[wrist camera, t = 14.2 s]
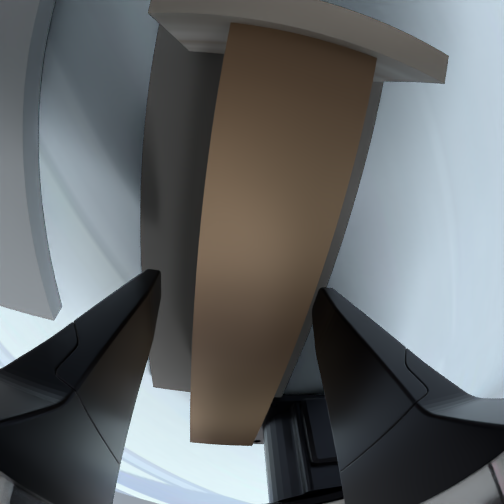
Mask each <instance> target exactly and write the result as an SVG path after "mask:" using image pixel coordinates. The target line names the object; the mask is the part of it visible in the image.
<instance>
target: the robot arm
mask: <svg viewBox="0 0 504 504" xmlns="http://www.w3.org/2000/svg"><path fill="white" fill-rule="evenodd" d="M160 301H161V272H160V270H155V269H146V270H145V271H143V272H142V273H141V274H139V275H138V276H136V277H135V278H133V279H132V280H130V281H129V282H128V283H126V284H125V285H123V286H122V287H120V288H119V289H118V290H116V291H115V292H113V293H112V294H110V295H109V296H108V297H106V298H105V299H103V300H102V301H101V302H99V303H98V304H96V305H95V306H94V307H92V308H91V309H90V310H88V311H87V312H85V313H84V314H83V315H81V316H80V317H79V318H77V319H76V320H75V321H74V323H73V322H72V323H70V324H69V325H68V326H66V327H65V328H64V329H62V330H61V331H59V332H58V333H57V334H55V335H54V336H52V337H51V338H49V339H48V340H46V341H45V342H43V343H42V344H40V345H39V346H37V347H35V348H34V349H32V350H31V351H29V352H27V353H26V354H24V355H22V356H21V357H19V358H18V359H16V360H14V361H13V362H11V363H10V364H8V365H6V366H5V367H3V368H1V369H0V504H113V498H114V493H115V488H116V483H117V478H118V473H119V468H120V463H121V459H122V454H123V450H124V446H125V441H126V437H127V433H128V429H129V425H130V421H131V417H132V413H133V410H134V406H135V402H136V398H137V395H138V391H139V387H140V384H141V380H142V377H143V373H144V370H145V367H146V363H147V360H148V356H149V353H150V350H151V346H152V343H153V338H154V334H155V328H156V322H157V317H158V312H159V306H160ZM312 322H313V331H314V341H315V350H316V356H317V361H318V366H319V370H320V375H321V380H322V384H323V389H324V394H323V395H282V397H274V398H273V401H272V403H271V405H270V407H269V410H268V412H267V414H266V416H265V419H264V421H263V423H262V425H261V427H260V430H259V432H258V434H257V436H256V438H255V440H254V442H253V444H264V451H265V462H266V472H267V483H268V494H269V503H268V504H504V398H503V399H489V398H478V397H475V396H472V395H470V394H468V393H466V392H465V391H463V390H462V389H460V388H459V387H458V386H456V385H455V384H453V383H452V382H451V381H449V380H448V379H446V378H445V377H444V376H442V375H441V374H439V373H438V372H437V371H435V370H434V369H433V368H431V367H430V366H428V365H427V364H426V363H425V362H423V361H422V360H421V359H420V358H418V357H417V356H416V355H415V354H413V353H412V352H411V351H410V350H409V349H406V347H405V346H404V345H402V344H401V343H400V342H399V341H398V340H396V339H395V338H394V337H393V336H391V335H390V334H389V333H388V332H387V331H385V330H384V329H383V328H382V327H380V326H379V325H378V324H377V323H375V322H374V321H373V320H372V319H370V318H369V317H368V316H367V315H366V314H364V313H363V312H362V311H361V310H359V309H358V308H357V307H356V306H354V305H353V304H352V303H351V302H349V301H348V300H347V299H346V298H344V297H343V296H342V295H341V294H339V293H338V292H337V291H335V290H334V289H333V288H325V287H321V288H320V289H319V290H318V293H317V296H316V299H315V301H314V304H313V307H312Z"/></svg>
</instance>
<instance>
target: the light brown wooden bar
mask: <svg viewBox="0 0 504 504" xmlns="http://www.w3.org/2000/svg"><path fill="white" fill-rule="evenodd" d="M148 14H149V15H150V16H152V17H153V18H154V19H155V20H156V21H157V22H158V23H160V24H161V25H162V26H163V27H164V28H165V29H166V30H167V31H168V32H170V33H171V34H172V35H173V36H174V37H175V38H176V39H177V40H178V41H179V42H180V43H181V44H182V45H183V46H185V47H186V48H187V49H188V50H189V51H194V52H207V53H218V54H224V59H223V65H222V71H221V76H220V82H219V88H218V94H217V100H216V107H215V113H214V120H213V127H212V134H211V141H210V148H209V156H208V164H207V172H206V180H205V188H204V197H203V206H202V216H201V226H200V236H199V247H198V259H197V272H196V285H195V300H194V316H193V335H192V359H191V396H190V442H194V443H205V444H219V445H241V446H252V445H253V442H254V440H255V438H256V436H257V434H258V432H259V430H260V427H261V425H262V423H263V421H264V419H265V416H266V414H267V412H268V410H269V407H270V405H271V403H272V401H273V398H274V396H275V394H276V391H277V389H278V387H279V384H280V382H281V379H282V377H283V375H284V372H285V370H286V367H287V365H288V362H289V360H290V357H291V355H292V352H293V350H294V347H295V345H296V342H297V339H298V337H299V334H300V332H301V329H302V326H303V324H304V321H305V318H306V315H307V313H308V310H309V307H310V304H311V302H312V299H313V296H314V293H315V290H316V287H317V284H318V282H319V279H320V276H321V273H322V270H323V267H324V264H325V261H326V258H327V254H328V251H329V248H330V245H331V242H332V239H333V236H334V232H335V229H336V226H337V222H338V219H339V216H340V212H341V209H342V205H343V202H344V198H345V195H346V191H347V188H348V184H349V180H350V177H351V173H352V169H353V165H354V162H355V158H356V154H357V150H358V146H359V142H360V137H361V133H362V129H363V125H364V120H365V116H366V111H367V107H368V102H369V97H370V93H371V88H372V83H373V82H425V83H440V84H444V83H445V77H446V71H447V64H448V57H449V56H448V55H446V54H445V53H443V52H441V51H439V50H438V49H436V48H434V47H432V46H431V45H429V44H427V43H425V42H423V41H421V40H419V39H417V38H415V37H413V36H411V35H409V34H407V33H405V32H403V31H401V30H399V29H397V28H395V27H392V26H390V25H388V24H386V23H383V22H381V21H378V20H376V19H373V18H371V17H368V16H366V15H363V14H360V13H358V12H355V11H352V10H349V9H346V8H343V7H340V6H337V5H334V4H331V3H327V2H324V1H320V0H151V2H150V6H149V10H148Z"/></svg>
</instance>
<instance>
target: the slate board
mask: <svg viewBox="0 0 504 504" xmlns="http://www.w3.org/2000/svg"><path fill="white" fill-rule="evenodd" d="M55 1H56V0H0V306H3V307H6V308H9V309H13V310H16V311H20V312H23V313H27V314H30V315H34V316H38V317H42V318H46V319H50V320H55V318H56V316H57V314H58V313H59V311H60V310H61V308H62V305H61V301H60V297H59V293H58V289H57V285H56V281H55V277H54V273H53V268H52V263H51V258H50V253H49V248H48V242H47V236H46V230H45V223H44V216H43V208H42V199H41V189H40V175H39V154H38V120H39V99H40V86H41V76H42V68H43V60H44V53H45V47H46V41H47V36H48V31H49V26H50V21H51V17H52V13H53V9H54V5H55Z"/></svg>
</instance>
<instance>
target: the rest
mask: <svg viewBox="0 0 504 504" xmlns="http://www.w3.org/2000/svg"><path fill="white" fill-rule="evenodd" d="M223 59H224V54H218V53H207V52H194V51H189V50H188V49H187V48H186V47H185V46H183V45H182V44H181V43H180V42H179V41H178V40H177V39H176V38H175V37H174V36H173V35H172V34H171V33H170V32H168V31H167V30H166V29H165V28H164V27H163V26H162V25H161V24H159V28H158V34H157V39H156V44H155V50H154V56H153V62H152V68H151V75H150V82H149V90H148V98H147V107H146V116H145V127H144V139H143V154H142V173H141V266H142V272H143V271H145V270H146V269H155V270H160V272H161V301H160V306H159V312H158V317H157V322H156V328H155V334H154V338H153V343H152V346H151V350H150V353H149V359H150V367H151V374H152V381H153V387H156V388H163V389H170V390H178V391H186V392H191V359H192V335H193V316H194V300H195V285H196V272H197V259H198V247H199V236H200V226H201V216H202V206H203V197H204V188H205V180H206V172H207V164H208V156H209V148H210V141H211V134H212V127H213V120H214V113H215V107H216V100H217V94H218V88H219V82H220V76H221V71H222V65H223ZM382 87H383V82H373V83H372V88H371V93H370V97H369V102H368V107H367V111H366V116H365V120H364V125H363V129H362V133H361V137H360V142H359V146H358V150H357V154H356V158H355V162H354V165H353V169H352V173H351V177H350V180H349V184H348V188H347V191H346V195H345V198H344V202H343V205H342V209H341V212H340V216H339V219H338V222H337V226H336V229H335V232H334V236H333V239H332V242H331V245H330V248H329V251H328V254H327V258H326V261H325V264H324V267H323V270H322V273H321V276H320V279H319V282H318V284H317V287H316V290H315V293H314V296H313V299H312V302H311V304H310V307H309V310H308V313H307V315H306V318H305V321H304V324H303V326H302V329H301V332H300V334H299V337H298V339H297V342H296V345H295V347H294V350H293V352H292V355H291V357H290V360H289V362H288V365H287V367H286V370H285V372H284V375H283V377H282V379H281V382H280V384H279V387H278V389H277V391H276V394H275V396H274V397H282V395H283V393H284V390H285V388H286V386H287V384H288V382H289V379H290V377H291V375H292V372H293V370H294V368H295V365H296V363H297V361H298V358H299V356H300V354H301V351H302V349H303V346H304V344H305V342H306V339H307V337H308V334H309V332H310V329H311V327H312V324H313V322H312V307H313V304H314V301H315V299H316V296H317V293H318V290H319V289H320V288H321V287H325V288H326V287H327V284H328V281H329V278H330V276H331V273H332V270H333V267H334V264H335V261H336V258H337V255H338V252H339V249H340V246H341V243H342V240H343V237H344V234H345V231H346V228H347V224H348V221H349V218H350V215H351V211H352V208H353V205H354V201H355V198H356V194H357V191H358V187H359V184H360V180H361V177H362V173H363V169H364V165H365V162H366V158H367V154H368V150H369V146H370V142H371V138H372V133H373V129H374V125H375V120H376V116H377V111H378V107H379V102H380V97H381V92H382Z"/></svg>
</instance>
